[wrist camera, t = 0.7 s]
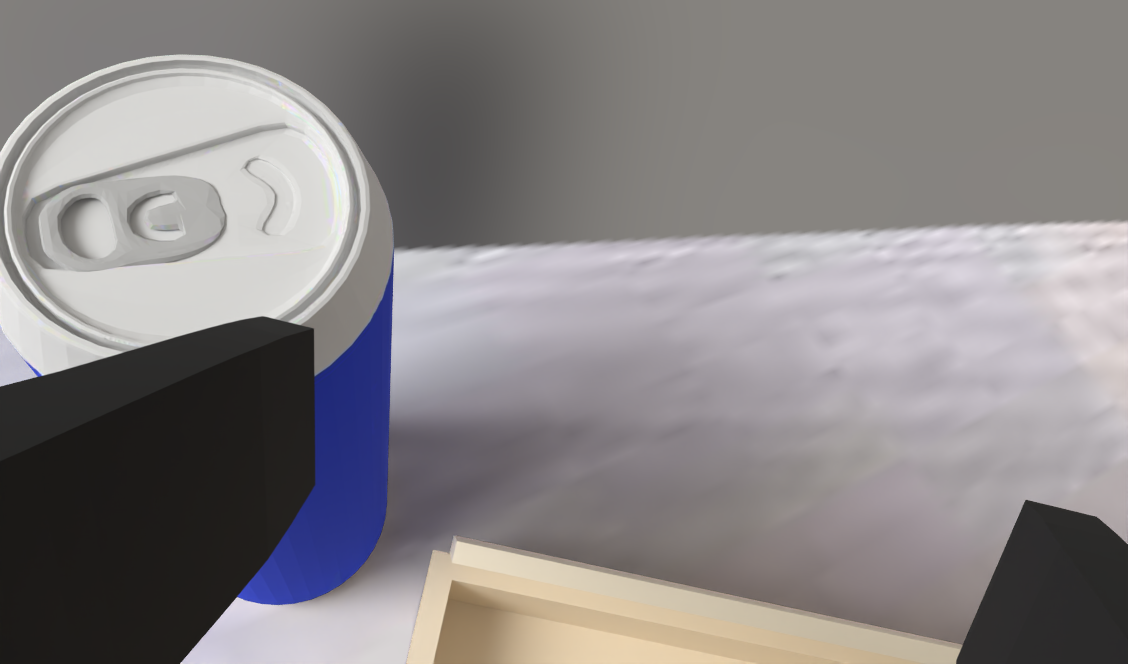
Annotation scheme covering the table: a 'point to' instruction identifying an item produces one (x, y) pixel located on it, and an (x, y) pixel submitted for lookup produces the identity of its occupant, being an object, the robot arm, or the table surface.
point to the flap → (701, 602)
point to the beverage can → (213, 260)
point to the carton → (587, 628)
